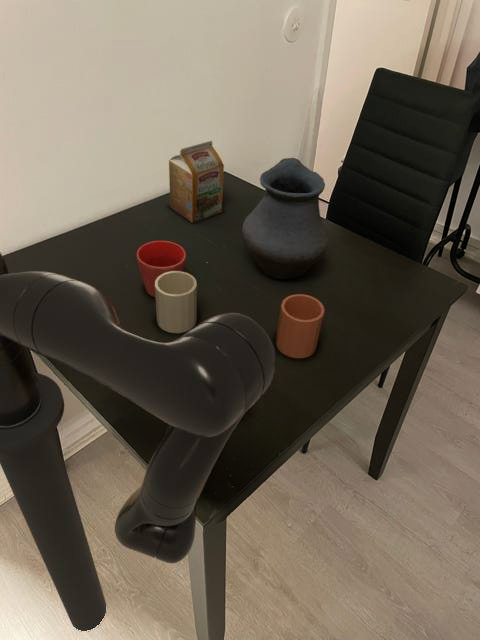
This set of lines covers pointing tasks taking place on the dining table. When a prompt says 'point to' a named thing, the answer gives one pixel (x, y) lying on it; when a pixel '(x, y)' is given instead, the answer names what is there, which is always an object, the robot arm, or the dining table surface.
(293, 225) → the dark grey vase
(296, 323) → the terracotta cup
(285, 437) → the dining table surface
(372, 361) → the dining table surface
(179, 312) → the cream cup
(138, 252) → the flower pot
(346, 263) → the dining table surface
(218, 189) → the milk carton
